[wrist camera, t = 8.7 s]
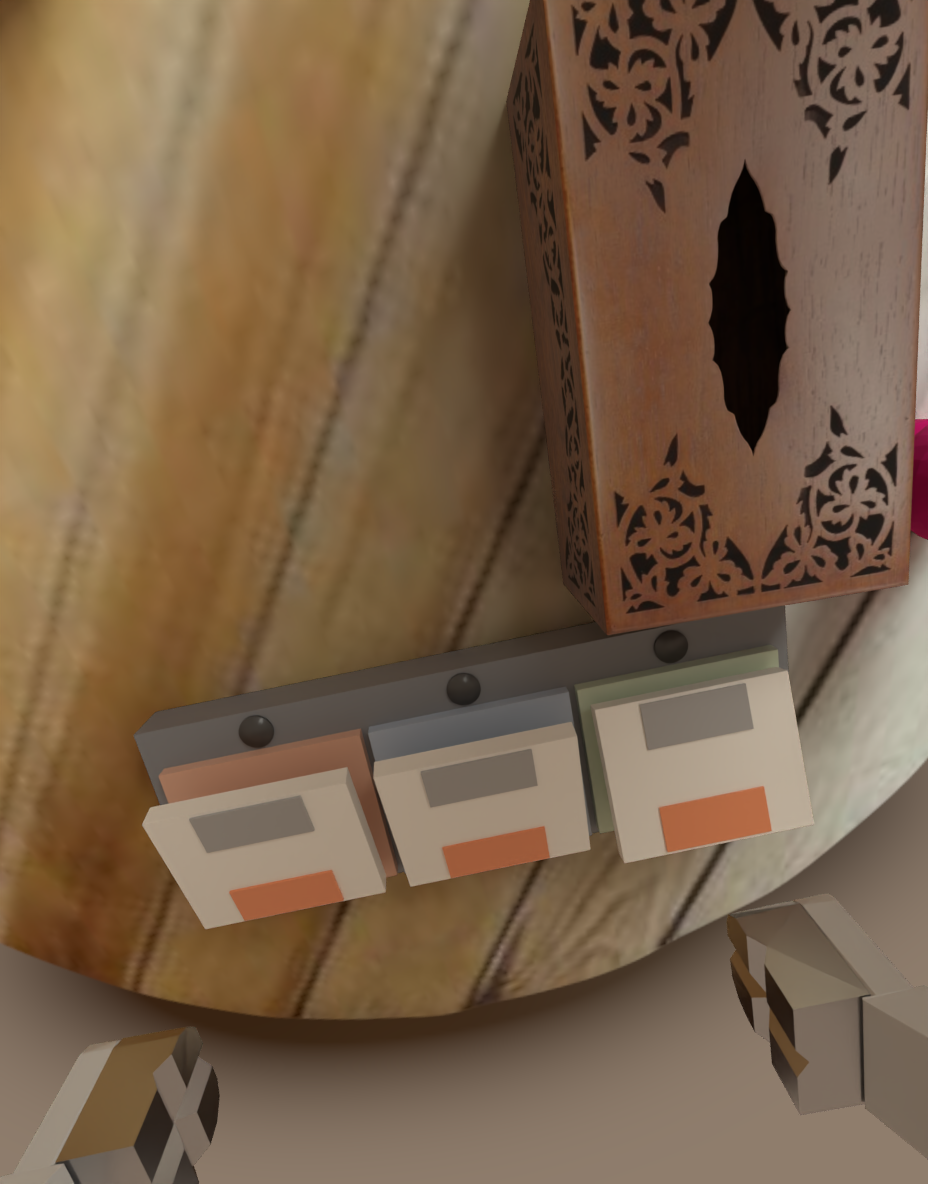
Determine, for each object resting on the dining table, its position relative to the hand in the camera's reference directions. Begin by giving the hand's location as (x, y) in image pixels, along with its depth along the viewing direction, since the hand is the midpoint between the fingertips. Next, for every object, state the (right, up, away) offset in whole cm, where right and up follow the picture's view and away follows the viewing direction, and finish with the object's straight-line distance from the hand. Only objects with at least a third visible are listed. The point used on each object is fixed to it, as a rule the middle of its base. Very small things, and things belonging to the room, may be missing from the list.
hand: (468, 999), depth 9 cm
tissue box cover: (+11, +20, +26) cm, 35 cm away
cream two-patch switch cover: (+14, -4, +26) cm, 29 cm away
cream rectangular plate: (+1, -6, +26) cm, 27 cm away
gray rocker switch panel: (+1, -4, +31) cm, 31 cm away
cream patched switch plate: (-11, -9, +26) cm, 29 cm away
